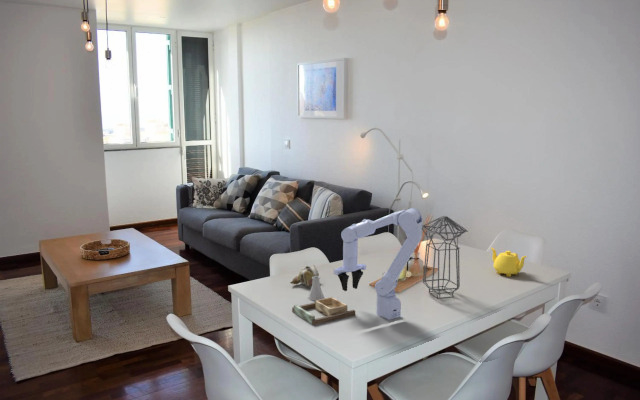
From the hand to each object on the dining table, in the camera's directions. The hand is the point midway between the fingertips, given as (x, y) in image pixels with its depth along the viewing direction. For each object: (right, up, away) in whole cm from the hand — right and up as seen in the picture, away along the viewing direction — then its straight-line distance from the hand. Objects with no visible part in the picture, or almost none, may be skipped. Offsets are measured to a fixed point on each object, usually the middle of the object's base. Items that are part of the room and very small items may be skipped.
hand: (349, 289), depth 215 cm
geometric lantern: (+41, -6, +19) cm, 45 cm away
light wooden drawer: (-8, -8, -3) cm, 12 cm away
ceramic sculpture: (-18, -3, +32) cm, 37 cm away
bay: (-11, -9, -5) cm, 15 cm away
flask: (-14, -7, +12) cm, 19 cm away
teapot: (+81, -1, +50) cm, 95 cm away
